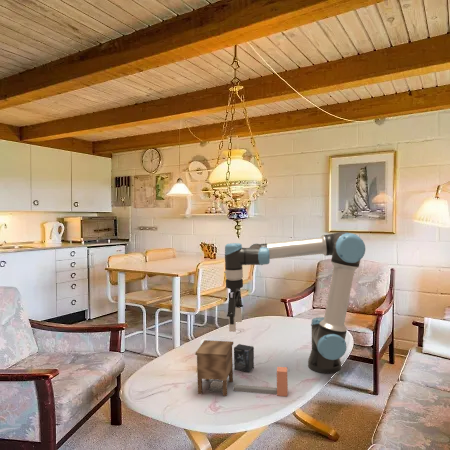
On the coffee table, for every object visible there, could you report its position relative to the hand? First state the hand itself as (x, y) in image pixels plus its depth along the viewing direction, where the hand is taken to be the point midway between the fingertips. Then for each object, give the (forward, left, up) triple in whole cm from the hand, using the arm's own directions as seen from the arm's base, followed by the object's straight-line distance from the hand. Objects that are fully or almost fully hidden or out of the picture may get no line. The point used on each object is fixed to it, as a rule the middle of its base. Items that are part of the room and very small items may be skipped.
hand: (235, 326), depth 172 cm
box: (-2, -10, -24) cm, 26 cm away
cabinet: (+7, +10, -23) cm, 26 cm away
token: (+6, +11, -24) cm, 27 cm away
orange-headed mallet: (-12, +11, -24) cm, 28 cm away
